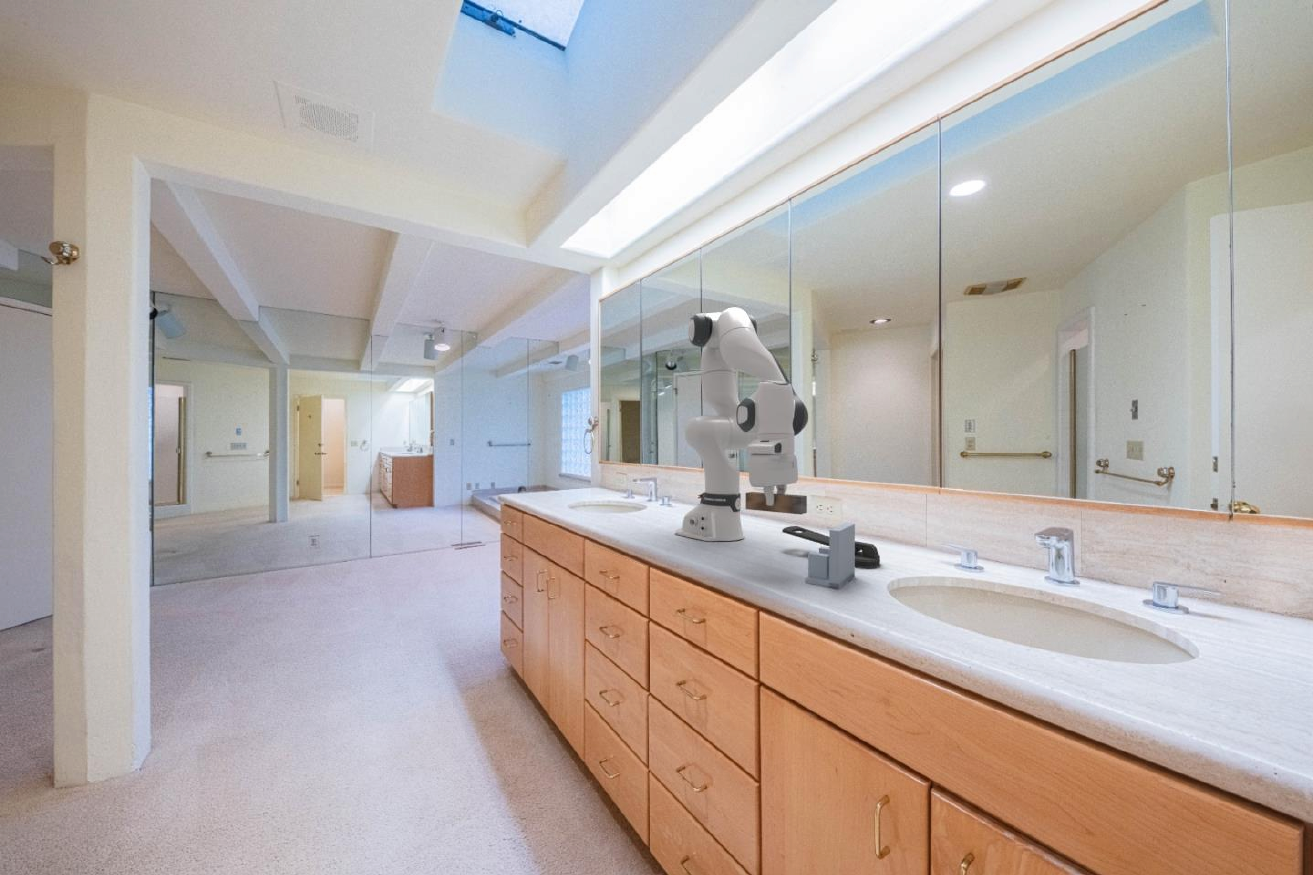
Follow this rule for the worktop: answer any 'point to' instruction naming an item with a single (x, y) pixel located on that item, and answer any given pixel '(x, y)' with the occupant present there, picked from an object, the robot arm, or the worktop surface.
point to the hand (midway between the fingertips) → (775, 504)
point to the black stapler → (862, 559)
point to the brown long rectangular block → (777, 503)
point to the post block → (834, 559)
